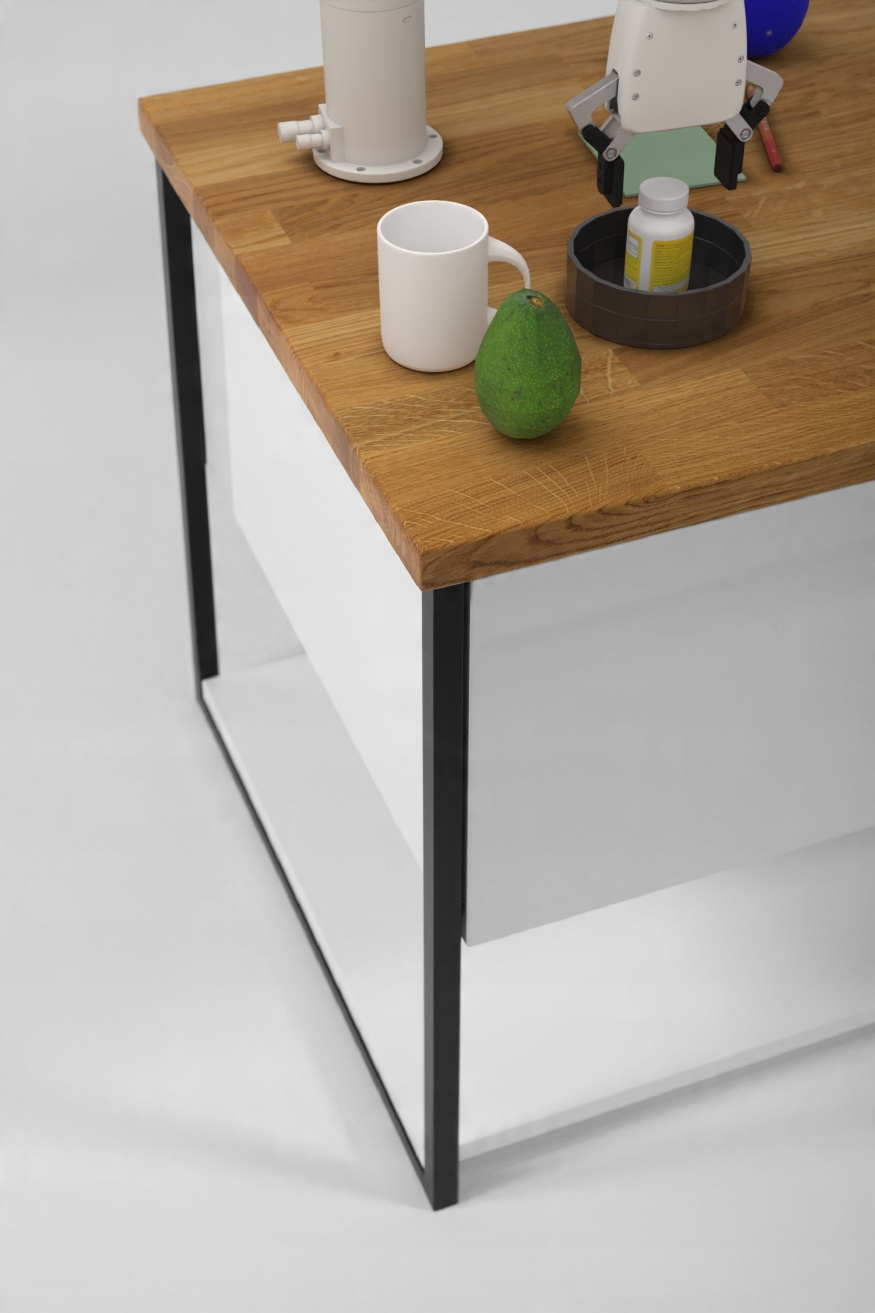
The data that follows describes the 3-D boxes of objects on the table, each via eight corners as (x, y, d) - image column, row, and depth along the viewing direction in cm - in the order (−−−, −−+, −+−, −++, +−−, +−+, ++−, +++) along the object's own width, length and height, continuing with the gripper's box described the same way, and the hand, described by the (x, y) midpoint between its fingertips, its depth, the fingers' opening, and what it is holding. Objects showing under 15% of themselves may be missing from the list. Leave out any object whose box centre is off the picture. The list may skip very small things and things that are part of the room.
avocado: (483, 466, 121) (485, 324, 112) (465, 406, 126) (465, 268, 118) (589, 455, 121) (598, 314, 113) (566, 396, 127) (573, 258, 119)
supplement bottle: (698, 290, 138) (709, 182, 131) (669, 319, 134) (679, 210, 128) (640, 273, 140) (649, 166, 133) (611, 301, 136) (618, 193, 130)
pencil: (783, 173, 154) (784, 163, 154) (771, 173, 154) (773, 163, 154) (753, 87, 168) (754, 78, 168) (743, 87, 168) (744, 78, 168)
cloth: (625, 197, 151) (626, 194, 151) (577, 133, 161) (577, 130, 161) (746, 180, 153) (746, 177, 153) (690, 118, 163) (691, 115, 163)
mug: (533, 371, 130) (538, 250, 122) (383, 377, 129) (378, 256, 122) (523, 314, 136) (527, 196, 129) (379, 320, 136) (375, 201, 128)
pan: (599, 361, 131) (603, 306, 127) (542, 270, 141) (544, 217, 138) (772, 333, 133) (780, 279, 130) (703, 246, 144) (709, 194, 141)
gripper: (773, -58, 123) (750, 157, 134) (556, -31, 120) (550, 186, 131) (816, -24, 118) (788, 196, 129) (589, 5, 115) (581, 228, 126)
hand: (668, 191), depth 130 cm, fingers open, 9 cm apart
